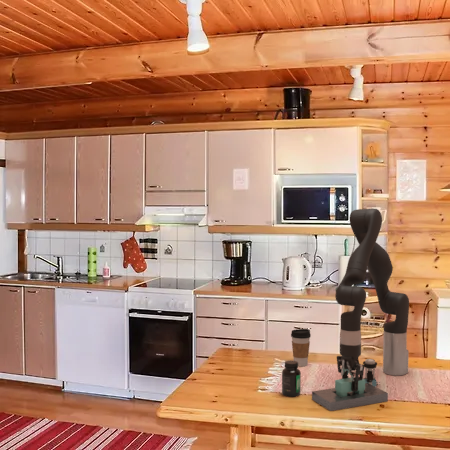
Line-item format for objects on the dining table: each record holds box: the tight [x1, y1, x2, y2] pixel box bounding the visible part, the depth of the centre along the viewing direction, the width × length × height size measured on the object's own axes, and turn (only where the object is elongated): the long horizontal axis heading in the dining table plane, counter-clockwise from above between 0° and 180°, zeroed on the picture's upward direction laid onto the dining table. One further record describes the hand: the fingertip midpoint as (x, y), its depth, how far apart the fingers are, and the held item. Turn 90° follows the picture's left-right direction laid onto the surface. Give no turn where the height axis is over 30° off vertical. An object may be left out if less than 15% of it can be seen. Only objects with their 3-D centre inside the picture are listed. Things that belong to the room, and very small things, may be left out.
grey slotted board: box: [311, 383, 389, 412], centre depth 209 cm, size 24×12×3 cm, turn 113°
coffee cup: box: [290, 328, 311, 367], centre depth 252 cm, size 8×8×15 cm
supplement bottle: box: [281, 360, 302, 398], centre depth 215 cm, size 7×7×12 cm
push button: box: [362, 358, 381, 387], centre depth 224 cm, size 7×5×10 cm
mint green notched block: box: [334, 376, 365, 397], centre depth 209 cm, size 10×4×8 cm, turn 113°
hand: (349, 388), depth 209 cm, fingers open, 5 cm apart
